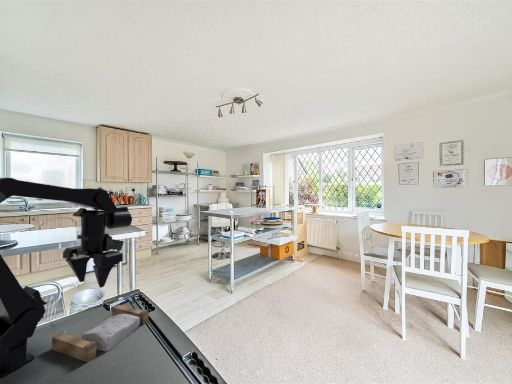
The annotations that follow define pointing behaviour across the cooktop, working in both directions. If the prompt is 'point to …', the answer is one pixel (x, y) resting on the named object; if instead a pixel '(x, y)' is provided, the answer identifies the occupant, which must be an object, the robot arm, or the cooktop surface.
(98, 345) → the stone block
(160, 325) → the cooktop surface
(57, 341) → the wooden blocks
